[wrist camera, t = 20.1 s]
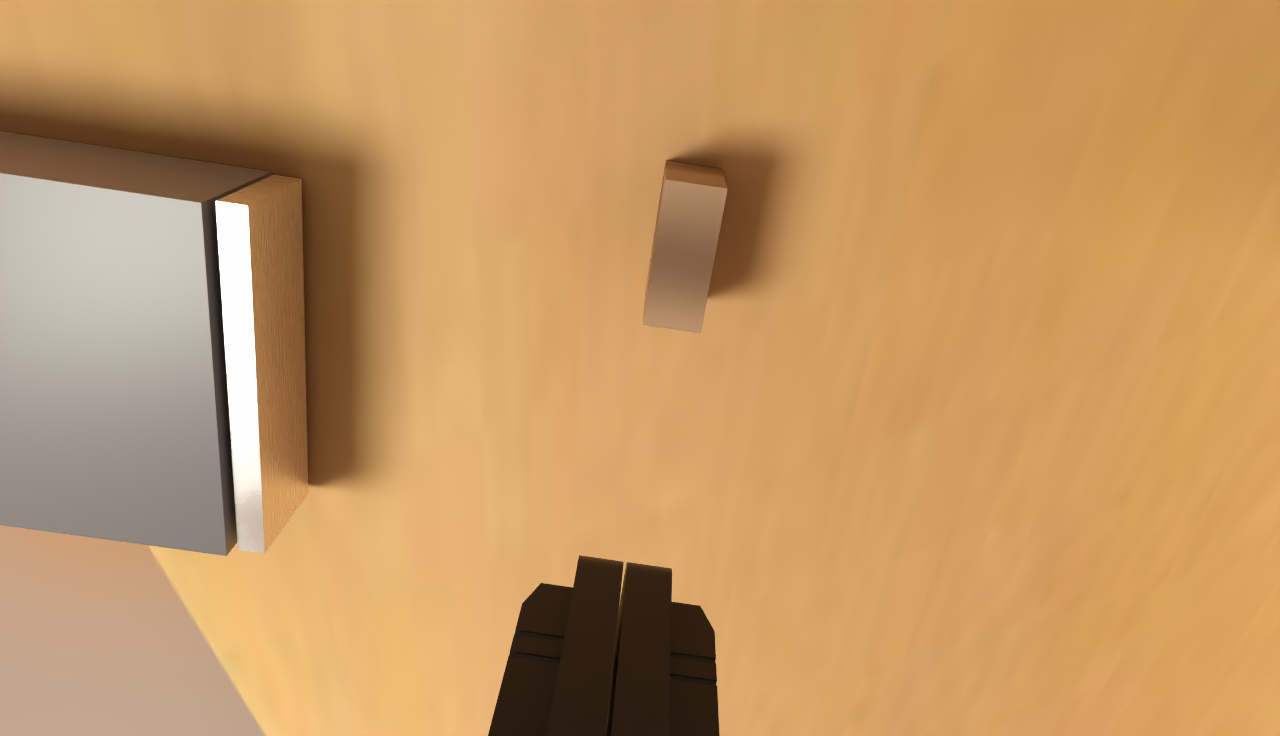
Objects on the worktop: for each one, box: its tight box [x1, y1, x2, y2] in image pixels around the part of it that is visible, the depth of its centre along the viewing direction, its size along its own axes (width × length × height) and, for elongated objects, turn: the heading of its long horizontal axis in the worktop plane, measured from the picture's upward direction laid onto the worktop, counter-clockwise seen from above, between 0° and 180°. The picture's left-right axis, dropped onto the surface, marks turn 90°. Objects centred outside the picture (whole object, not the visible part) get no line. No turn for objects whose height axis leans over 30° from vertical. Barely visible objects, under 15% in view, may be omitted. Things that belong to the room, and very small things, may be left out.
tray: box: [215, 175, 308, 553], centre depth 37 cm, size 16×16×5 cm
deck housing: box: [0, 131, 272, 556], centre depth 37 cm, size 16×16×6 cm
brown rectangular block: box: [643, 161, 728, 333], centre depth 35 cm, size 6×2×4 cm, turn 171°
